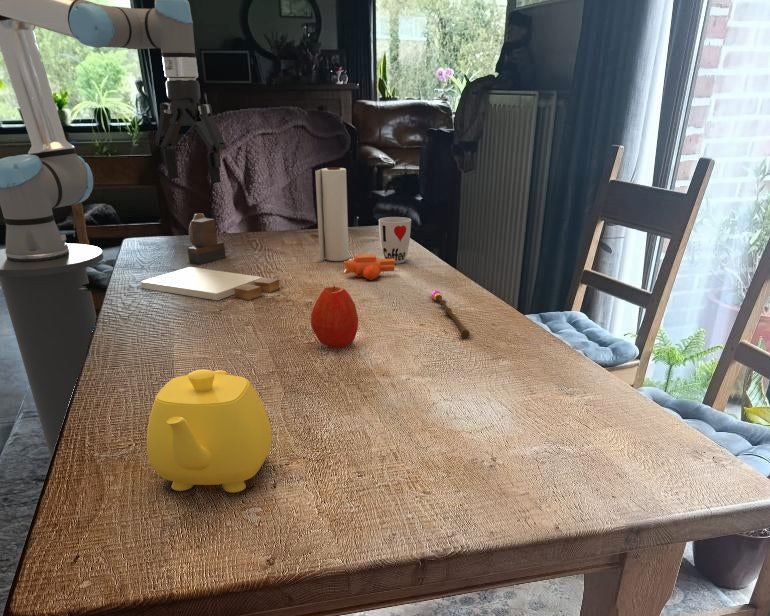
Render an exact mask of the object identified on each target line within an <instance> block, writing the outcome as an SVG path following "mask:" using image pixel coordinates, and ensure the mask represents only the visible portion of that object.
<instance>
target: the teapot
mask: <svg viewBox="0 0 770 616" xmlns="http://www.w3.org/2000/svg"><path fill="white" fill-rule="evenodd" d="M146 430H147V432H146V453H147V460H148V463H149V465H150V467H151V468H152V469H153V470H154V471H155V472H156V474H158V475H159V476H160V477H161V478H163V479H165V480H167V481H171V482H172V485H171V489H172V490H174V491H179V492H180V491H182V492H183V491H187V490H189V489H191V488H193V487H194V486H195V485H197V486H212V485H213V486H214V485H222V486H223V490H224V491H225V492H227V493H239V492H241V491H244V490H245V489H246V487H247V485H246V482H245V481H247V480H249V479H252V478H253V477H255V475H256V474H257V473H258V472H259V471H260V469H261V468H262V465H263V464H264V462H265V461H266V459H267V457H268V455H269V452H270V450H271V447H272V442H273V432H272V427H271V423H270V419H269V416H268V413H267V410H266V408H265V405H264V404H263V402H262V400H261V398H260V396H259V394H258V393H257V391H256V389H255V387H254V386H253V384H252V383H251V382H250V380H248V379H247V377H246V378H245V377H243V376H239V375H233V374H230V373H229V372H227V371H225V370H222V369H221V370H219V369H218V370H214V371H213V370H210V369H197V370H192V371H191V372H189V373H188V374H186V375H180V376H176V377H173V378H172V379H170V380H169V381H168V382H167V383H166V384H165V385H164V386H163V387H161V389H160V390H159V391H158V393H157V394H156V395H155V398H154V402H153V404H152V407H151V412H150V415H149V419H148V425H147V429H146Z"/></svg>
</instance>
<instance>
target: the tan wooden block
mask: <svg viewBox="0 0 770 616" xmlns="http://www.w3.org/2000/svg"><path fill="white" fill-rule="evenodd" d="M254 285H255V286H260V287H261V293H262V292H263V293H273V292H274V291H276V290H279V289H280V279H279V278H272V277H263V278H261V279H259V280H257V281H254Z"/></svg>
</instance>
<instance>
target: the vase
mask: <svg viewBox="0 0 770 616" xmlns="http://www.w3.org/2000/svg"><path fill="white" fill-rule="evenodd" d="M202 218H206V216H205V214H204V213H201V212H199V213H194V215H193V218H192V220H191V221H193V220H198V219H202ZM188 237H189V241H190V243H191V245H192V247H193V246H194V241H193V234H192V227H191V223H189V226H188Z"/></svg>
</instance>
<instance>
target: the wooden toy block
mask: <svg viewBox="0 0 770 616" xmlns="http://www.w3.org/2000/svg"><path fill="white" fill-rule="evenodd" d="M192 220H193V219H192ZM192 220H190V224H191V227H192V234H193V241H194V246H193V245H192V246H190V247H187V255H188V261H189V264H193V265H203V264H206V263H209V262H213V261H217V260H219V259H223V258H225V257H226V249H225V242H224V241H218V237H217V229H216V223H215V222H216V221H215V218H208V217H205V218H202V219H198V220H193V221H192Z"/></svg>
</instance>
